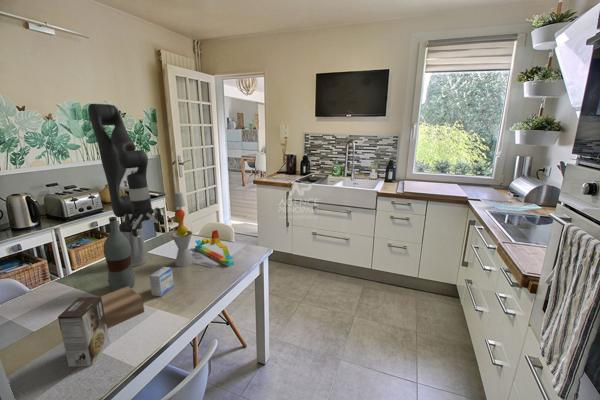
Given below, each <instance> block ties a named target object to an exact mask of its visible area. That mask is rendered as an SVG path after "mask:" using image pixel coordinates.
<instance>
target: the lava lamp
mask: <svg viewBox="0 0 600 400" xmlns="http://www.w3.org/2000/svg"><path fill="white" fill-rule="evenodd" d="M185 203H186V202H185V199H184V196H183V193H182V192H181V191H178V192H177V191H176V192H174V199H173V207H174V208H182V207H185V206H186V204H185ZM185 216H186V214H185V211H184V210H182V209H177V210H176V211H175V212H174V217H175V218H176V220H177V223H178V228H177V231H175V232H172V234H171V237H172V239H173V241H174V243H175V245H176V247H177V249H178V250H177V253H176V258H175V261H174V265H175V266H176V267H180V268H182V267H187V266H191V265H193V264H194V263H195V261H194V258H193V256H192V253H191V252H190V250H189V246H190V242H191V239H192V235H193V232H192V231H190V230H188V227H187V226H185V225H184V218H185Z"/></svg>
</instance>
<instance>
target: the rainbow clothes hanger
mask: <svg viewBox="0 0 600 400" xmlns="http://www.w3.org/2000/svg"><path fill="white" fill-rule="evenodd" d="M194 242H195V244H196V245H195V246H194V249H195V250H197V251H198V252H200V253H202V254H204V255H206V256H208V257H210V258H212V260H213V259H214V260H215V261H217V262H218V263H221V264H223V265H224V266H226V267H228V268H229V267H230V268H231V267H232V266H234V262H235V261H233V260H232V259H234V257H233V256H231V255H230V251H229V248H228V246H227V245H225V244H224V243H222V242H221V239H220V235H219V231H218V229H216V230H213V231H212V234H211V238H203V239H198V240H195V241H194ZM207 244H209V245H210V246H214V245H216V246H217V247H218V248H220V249H222V252H223V255H222V254H219V253H218V252H215V251H213V250H211V249H210V248H208V247H206V246H204V245H207Z"/></svg>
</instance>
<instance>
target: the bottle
mask: <svg viewBox="0 0 600 400" xmlns="http://www.w3.org/2000/svg"><path fill="white" fill-rule="evenodd" d="M108 220H109V230H110V232H109V234H108V235H107V237H106V239H105V240H104V242H103V255H104V258H105V261H106V266H107V269H108V272H107V276H108V277H107V279H108V285H109V287H110V288H109V289H110V290H111V291H112V292H114V291H116V290H119V289H122V288H124V287H127V286H129V287H130V288H131V289H132V288H134V286H135V281H136V280H135V279H136V276H135V272H134V269H133V266H132V265H131V246H130V243H129V241H128V239H127V238H126V237H125V236H124V235H123V234H122V233H121V232H120V230H119V224H118V217H116V216H110V217H109V218H108Z"/></svg>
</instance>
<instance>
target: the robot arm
mask: <svg viewBox="0 0 600 400" xmlns="http://www.w3.org/2000/svg"><path fill="white" fill-rule="evenodd" d="M87 111H88V112H87V113H88V117H89V121H90V123H91V127H92V130H93V132H94V136H95V138H96V139H95V140H96V142H97V147H98V151H99V156H100V160H101V165H102V168H103V172H104V175H105V177H106V178H105V179H106V182H107V187H108V192H109V199H110V205H111V209H112V212H113V215H114V217H117V218H122V217H123V218H124V221H122V222H121V223H119V224H118V230H119V231H120V232H121V233H122V234H123V235H124V236H125V237H126V238H127V239H128V241H129V243H130V246H131V265H132V267H137V266H140V265H143V264H145V263H146V262H147V257H146V249H145V247H146V246H145V241H144V233H143V232H144V231H143V225H142V224H143V222H145V221H149V220H151V221H152V222H153V229H154V231H155V232H159V230H160V227H159V225H160V224H159V223H160V222H161V221H163V216H162V213H161V212H162V211H161V208H159V207H158V206H157V207H155V208H153V207H152V201H151V195H150V190H149V186H148V181H147V172H148V171H147V170H148V163H149V157H148V154H147V153H146V151H144V150H142V149H137V150H136V144H135V143H134V142H133V140H132V138H131V136H130V135H129V133H128V131H127V129H126V126H125V124H124V120H123V119H122V115H121V113H120V111H119V109H118V108H117V106H115V105H113V104H106V103H105V104H104V103H90V104H89V105H88V108H87ZM104 126H114V127H113V130H112V131H111V133H110V134H111V135H110V136H109V135H108V133H107V132H106V130H105V128H104ZM135 168H137V170H136V171H134V172H132V173H129V174H128V175H127V176H126V181H127V185H128V186H127V187H128V195H122V196H121V194H120V188H121V187H120V186H121V183H122V181H123V178H124V176H125V174H126V171H127V169H135ZM154 213H155V214H156V217H157V218H155V217H154V216H153V214H154Z"/></svg>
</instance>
